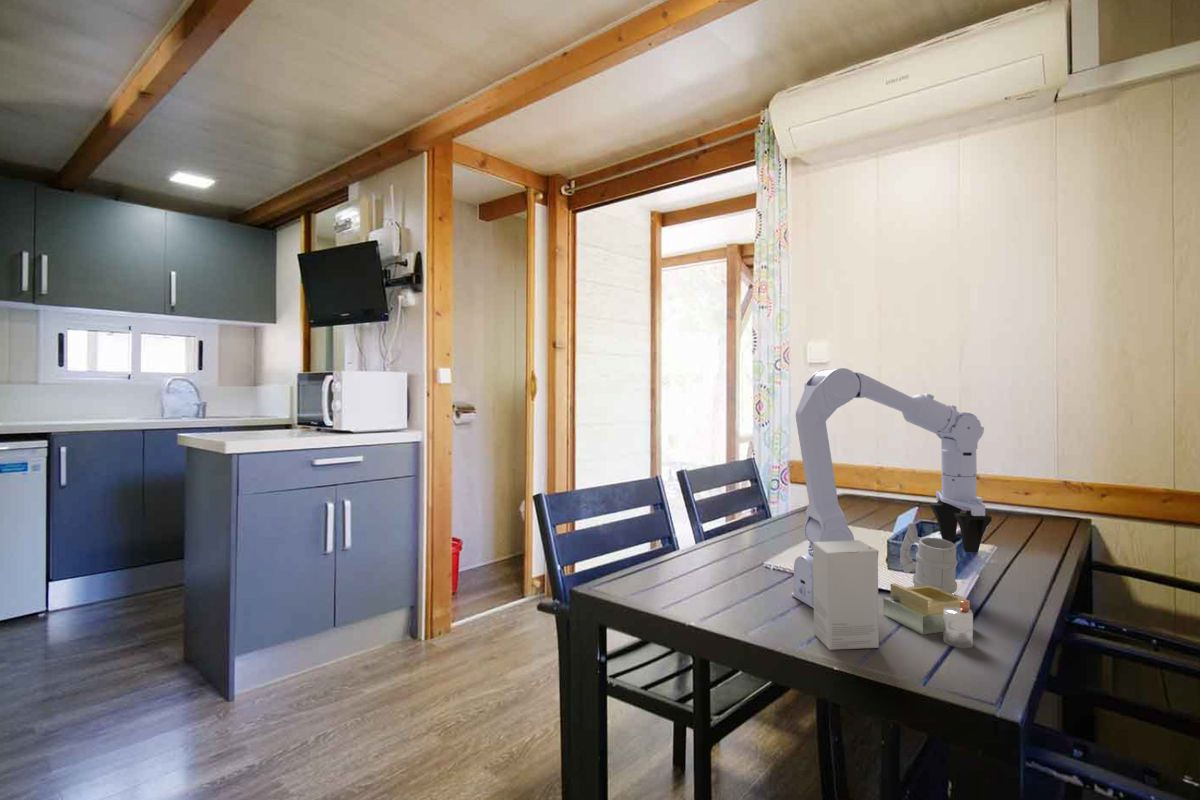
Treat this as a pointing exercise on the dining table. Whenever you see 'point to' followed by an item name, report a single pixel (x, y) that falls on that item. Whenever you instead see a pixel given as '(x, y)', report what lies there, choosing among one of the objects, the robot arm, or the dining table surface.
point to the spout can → (958, 626)
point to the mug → (930, 561)
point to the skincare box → (846, 594)
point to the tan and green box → (920, 607)
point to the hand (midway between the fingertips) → (959, 545)
